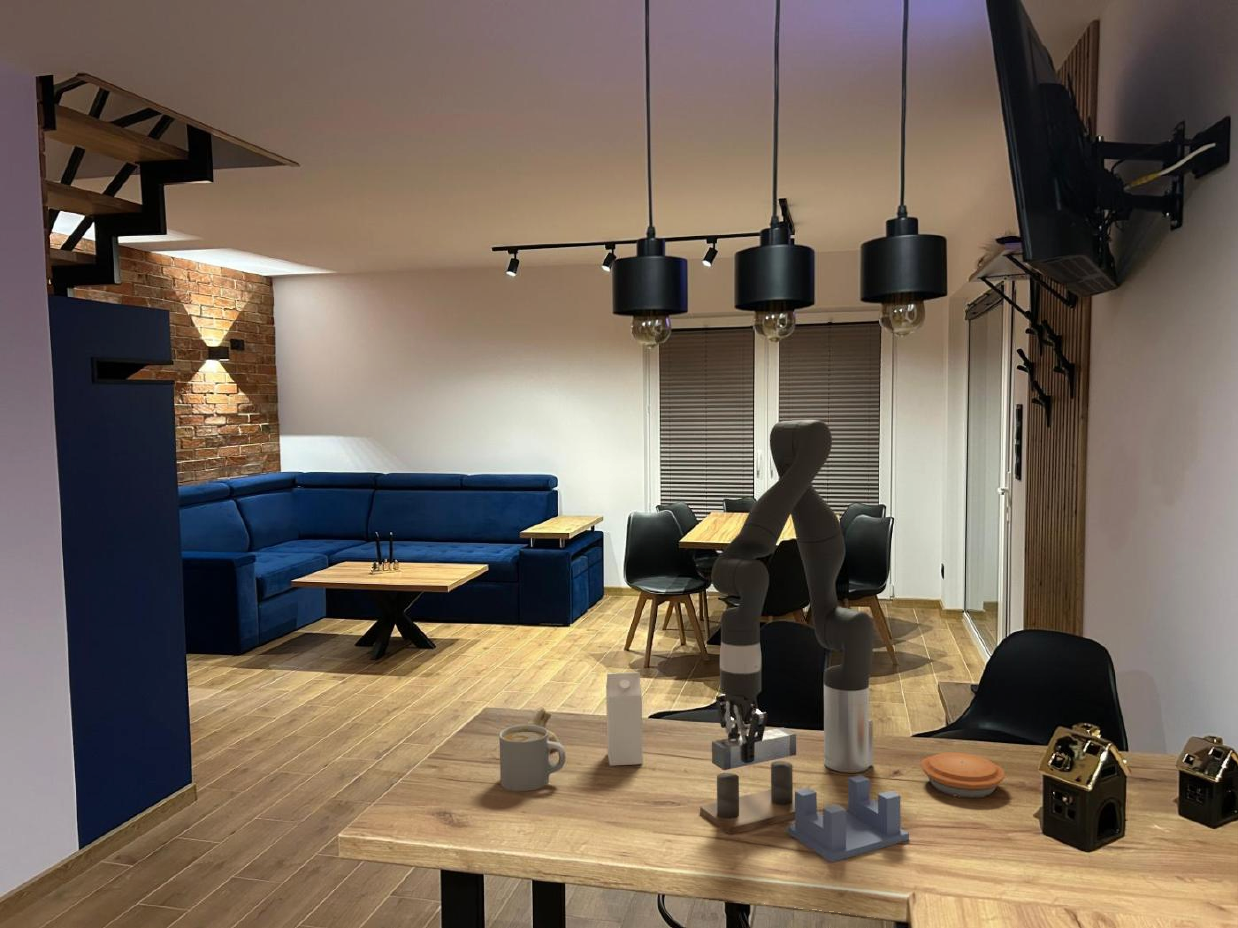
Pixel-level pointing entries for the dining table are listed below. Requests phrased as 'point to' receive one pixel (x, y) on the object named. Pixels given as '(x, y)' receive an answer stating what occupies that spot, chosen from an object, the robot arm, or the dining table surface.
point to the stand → (752, 802)
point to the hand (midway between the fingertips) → (741, 757)
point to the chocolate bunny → (544, 724)
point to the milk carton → (624, 718)
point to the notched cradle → (848, 822)
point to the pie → (962, 774)
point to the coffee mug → (527, 757)
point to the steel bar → (769, 748)
